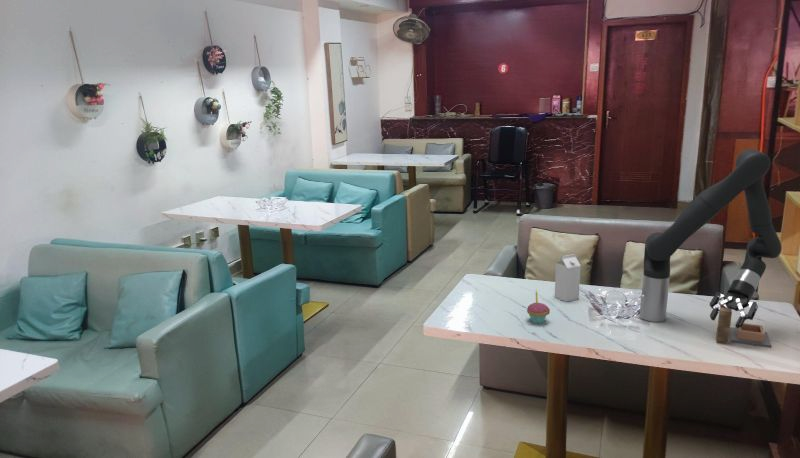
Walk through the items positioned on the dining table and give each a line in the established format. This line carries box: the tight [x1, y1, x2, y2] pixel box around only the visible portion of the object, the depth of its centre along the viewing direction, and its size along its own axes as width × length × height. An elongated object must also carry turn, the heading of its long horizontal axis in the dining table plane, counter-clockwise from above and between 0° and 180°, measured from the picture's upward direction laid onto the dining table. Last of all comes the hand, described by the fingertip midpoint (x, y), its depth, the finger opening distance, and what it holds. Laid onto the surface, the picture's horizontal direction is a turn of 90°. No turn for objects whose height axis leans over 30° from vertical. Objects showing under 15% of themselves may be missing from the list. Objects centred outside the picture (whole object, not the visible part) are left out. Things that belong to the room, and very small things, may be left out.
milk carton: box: [554, 253, 582, 303], centre depth 251 cm, size 7×7×19 cm
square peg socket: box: [729, 322, 772, 348], centre depth 212 cm, size 12×12×4 cm
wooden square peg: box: [715, 307, 733, 345], centre depth 209 cm, size 4×4×12 cm
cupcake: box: [526, 290, 551, 324], centre depth 229 cm, size 9×8×12 cm
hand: (724, 323), depth 208 cm, fingers open, 8 cm apart
